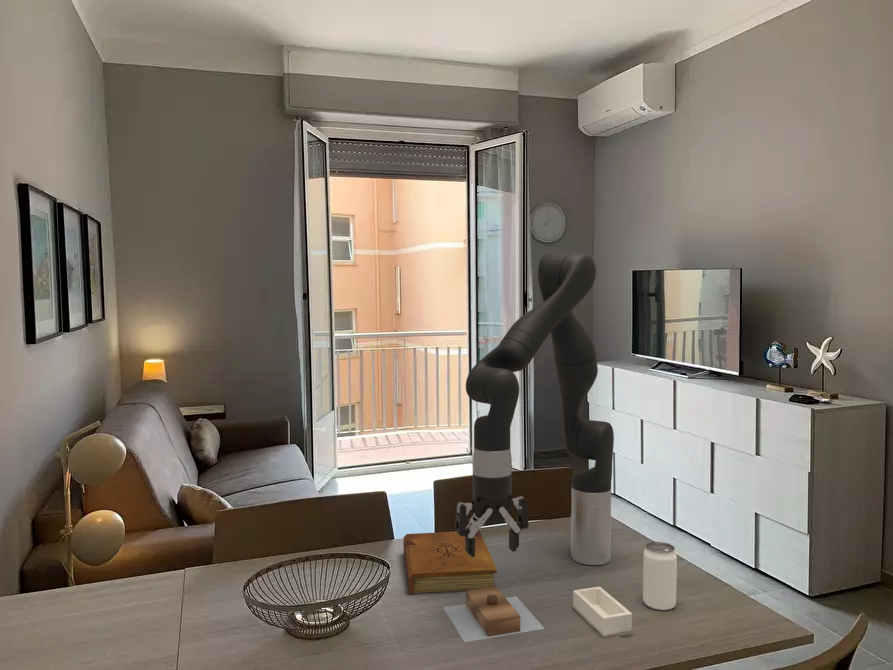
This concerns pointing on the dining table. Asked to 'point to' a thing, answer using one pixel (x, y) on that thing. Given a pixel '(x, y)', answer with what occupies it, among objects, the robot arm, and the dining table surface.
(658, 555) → the can
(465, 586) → the diary
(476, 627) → the mat
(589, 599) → the dish
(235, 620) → the dining table surface
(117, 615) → the dining table surface
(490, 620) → the lid
